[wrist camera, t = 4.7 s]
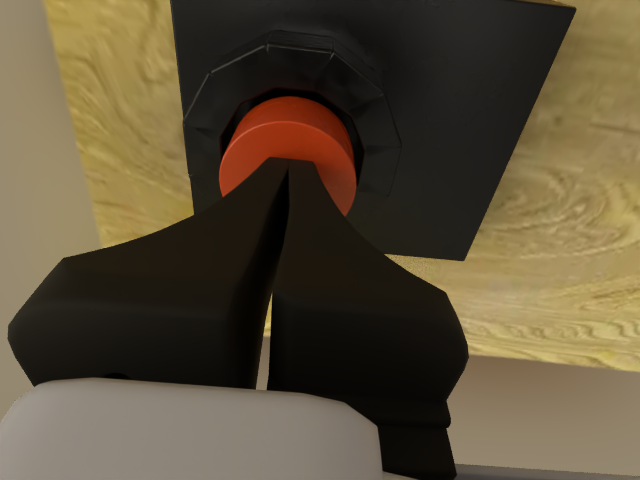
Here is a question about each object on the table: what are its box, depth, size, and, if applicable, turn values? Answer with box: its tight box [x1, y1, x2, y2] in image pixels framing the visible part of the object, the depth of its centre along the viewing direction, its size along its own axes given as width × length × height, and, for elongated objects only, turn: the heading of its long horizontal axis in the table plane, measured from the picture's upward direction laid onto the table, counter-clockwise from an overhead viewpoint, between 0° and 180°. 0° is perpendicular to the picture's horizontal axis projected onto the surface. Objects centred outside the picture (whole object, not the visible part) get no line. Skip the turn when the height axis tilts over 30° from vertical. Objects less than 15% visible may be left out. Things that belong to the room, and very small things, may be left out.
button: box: [219, 96, 356, 216], centre depth 12 cm, size 4×4×2 cm
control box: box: [170, 0, 576, 261], centre depth 14 cm, size 12×10×4 cm
